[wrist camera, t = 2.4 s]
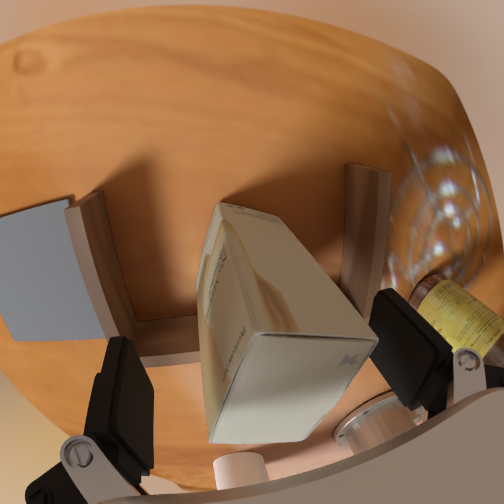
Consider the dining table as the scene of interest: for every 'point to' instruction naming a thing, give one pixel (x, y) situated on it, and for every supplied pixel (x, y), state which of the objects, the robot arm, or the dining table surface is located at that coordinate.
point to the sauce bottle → (460, 318)
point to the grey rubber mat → (43, 278)
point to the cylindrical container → (239, 470)
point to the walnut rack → (186, 328)
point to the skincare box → (271, 332)
